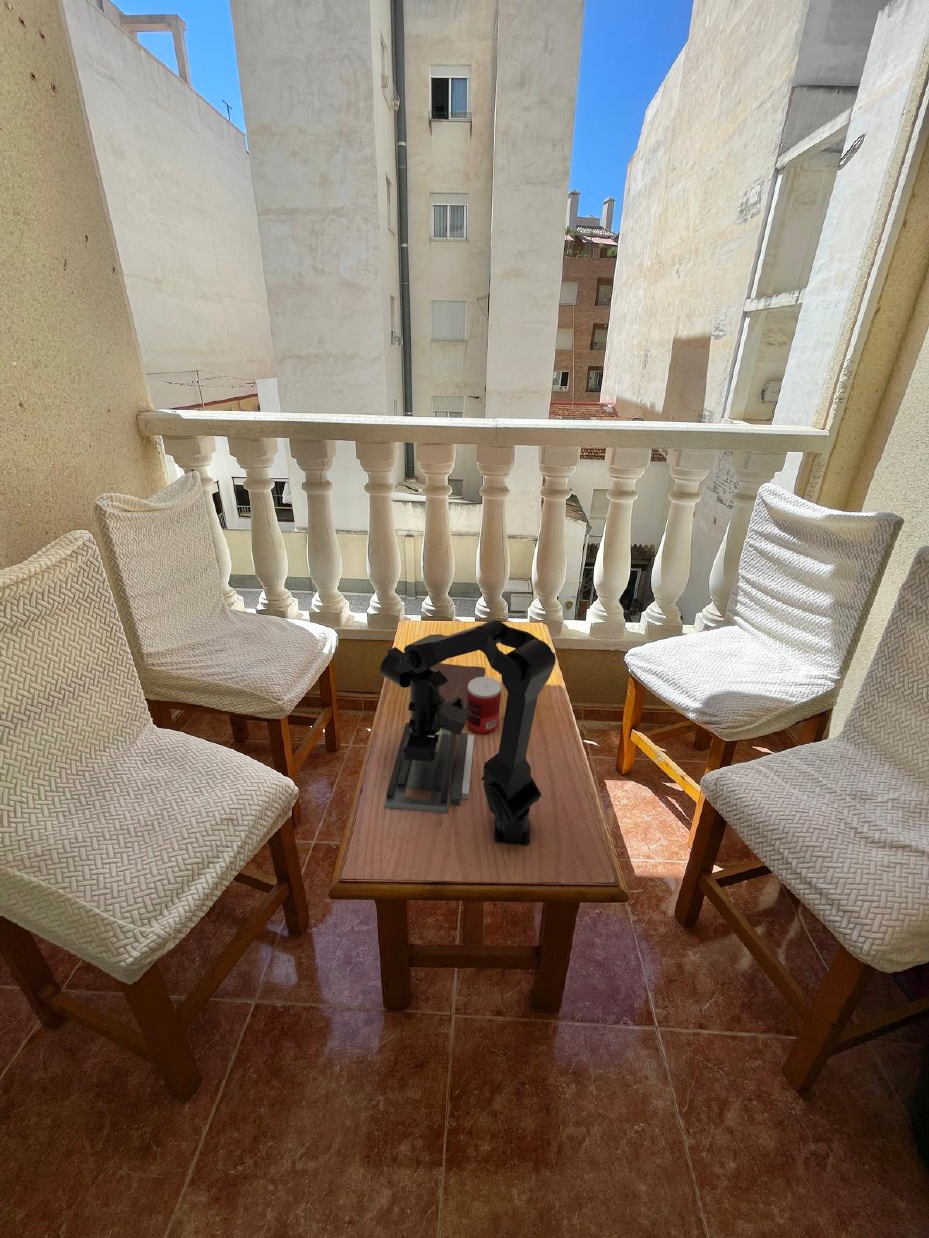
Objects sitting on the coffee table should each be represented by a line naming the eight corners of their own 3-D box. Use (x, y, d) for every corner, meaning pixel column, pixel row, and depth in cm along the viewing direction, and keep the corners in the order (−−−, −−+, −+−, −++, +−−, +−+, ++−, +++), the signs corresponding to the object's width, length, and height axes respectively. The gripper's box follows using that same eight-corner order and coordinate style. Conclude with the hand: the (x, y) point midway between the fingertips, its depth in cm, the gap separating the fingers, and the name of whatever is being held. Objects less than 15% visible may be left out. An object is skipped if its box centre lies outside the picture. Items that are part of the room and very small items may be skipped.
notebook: (414, 708, 136) (414, 702, 136) (431, 667, 154) (431, 660, 153) (474, 716, 134) (474, 709, 134) (485, 673, 152) (485, 667, 151)
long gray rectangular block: (467, 806, 108) (468, 799, 107) (450, 805, 108) (450, 798, 107) (473, 740, 126) (474, 733, 125) (459, 739, 126) (459, 732, 125)
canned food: (501, 717, 134) (504, 679, 129) (494, 738, 127) (497, 698, 122) (471, 711, 135) (472, 673, 130) (462, 731, 128) (463, 692, 123)
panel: (446, 812, 106) (447, 802, 105) (385, 807, 107) (384, 797, 106) (457, 733, 128) (458, 723, 127) (406, 729, 128) (406, 720, 127)
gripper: (461, 728, 100) (459, 793, 107) (469, 673, 117) (466, 732, 124) (400, 724, 101) (402, 788, 108) (416, 669, 117) (417, 728, 124)
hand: (425, 757), depth 116 cm, fingers closed
